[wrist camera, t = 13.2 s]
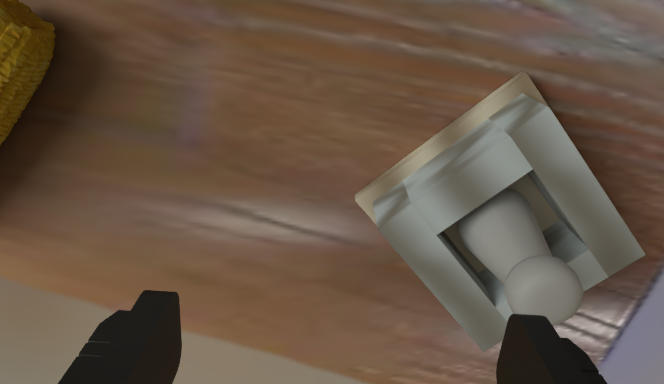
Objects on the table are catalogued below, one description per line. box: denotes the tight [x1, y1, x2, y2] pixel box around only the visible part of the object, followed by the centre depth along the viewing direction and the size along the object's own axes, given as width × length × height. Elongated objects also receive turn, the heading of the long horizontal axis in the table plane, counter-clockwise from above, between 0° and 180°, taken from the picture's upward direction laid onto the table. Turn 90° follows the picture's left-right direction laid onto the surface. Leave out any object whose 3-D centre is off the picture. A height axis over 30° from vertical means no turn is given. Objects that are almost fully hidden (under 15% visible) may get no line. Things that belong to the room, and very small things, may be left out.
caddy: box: [355, 71, 646, 352], centre depth 39 cm, size 16×16×6 cm
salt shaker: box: [458, 188, 584, 326], centre depth 34 cm, size 6×6×13 cm
